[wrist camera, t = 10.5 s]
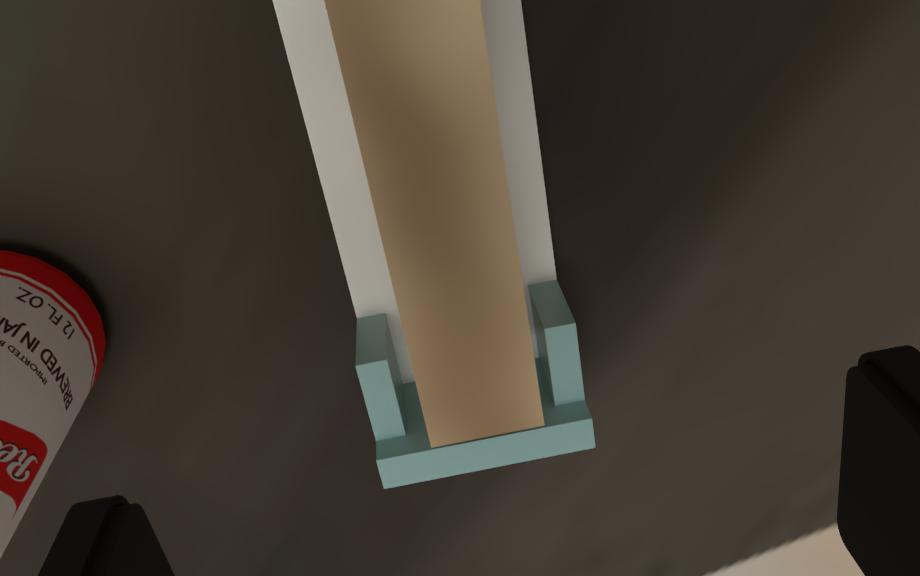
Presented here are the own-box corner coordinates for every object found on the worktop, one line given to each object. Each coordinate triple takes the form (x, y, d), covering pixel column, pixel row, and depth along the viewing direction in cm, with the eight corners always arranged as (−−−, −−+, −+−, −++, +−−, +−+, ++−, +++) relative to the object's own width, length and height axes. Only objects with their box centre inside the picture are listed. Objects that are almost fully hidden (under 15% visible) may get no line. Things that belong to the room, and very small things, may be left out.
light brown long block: (436, -165, 22) (453, -171, 17) (518, 340, 29) (544, 425, 25) (307, -140, 22) (290, -141, 17) (422, 359, 29) (430, 448, 25)
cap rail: (481, -257, 22) (510, -288, 17) (562, 361, 31) (595, 447, 27) (224, -207, 22) (184, -225, 17) (382, 396, 31) (383, 488, 27)
